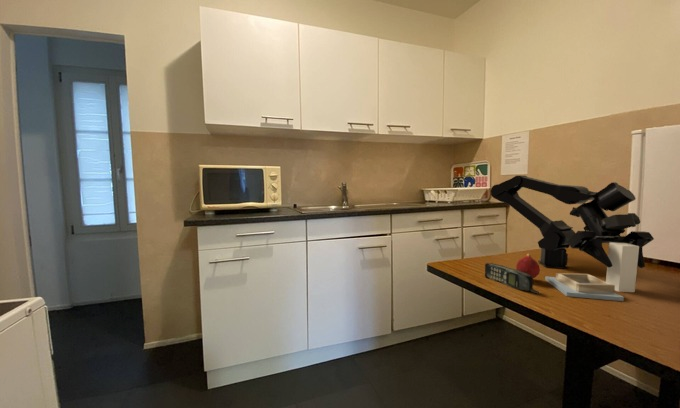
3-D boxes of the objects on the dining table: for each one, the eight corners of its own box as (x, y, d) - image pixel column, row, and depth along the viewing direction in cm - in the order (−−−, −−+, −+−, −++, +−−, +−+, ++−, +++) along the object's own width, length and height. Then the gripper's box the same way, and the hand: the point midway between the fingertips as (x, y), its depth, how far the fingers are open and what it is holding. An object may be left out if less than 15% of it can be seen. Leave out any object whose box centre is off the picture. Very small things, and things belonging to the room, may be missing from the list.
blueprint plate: (566, 296, 72) (566, 292, 72) (545, 279, 83) (545, 276, 83) (623, 301, 69) (623, 297, 69) (593, 283, 80) (593, 280, 80)
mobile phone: (483, 262, 85) (534, 276, 72) (490, 261, 87) (541, 275, 73) (483, 278, 86) (533, 295, 72) (489, 276, 87) (540, 293, 73)
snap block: (605, 285, 78) (609, 242, 77) (620, 286, 78) (624, 242, 77) (618, 291, 74) (622, 246, 73) (634, 292, 74) (639, 246, 73)
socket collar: (555, 279, 80) (556, 273, 80) (587, 280, 80) (587, 273, 79) (578, 291, 72) (578, 284, 72) (614, 293, 71) (614, 285, 71)
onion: (542, 284, 79) (544, 257, 79) (520, 283, 81) (522, 256, 80) (533, 277, 85) (534, 252, 84) (512, 276, 86) (513, 251, 85)
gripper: (578, 202, 79) (609, 251, 69) (650, 203, 77) (692, 252, 67) (557, 225, 87) (582, 271, 77) (621, 226, 86) (655, 273, 76)
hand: (626, 267), depth 74 cm, fingers open, 8 cm apart
